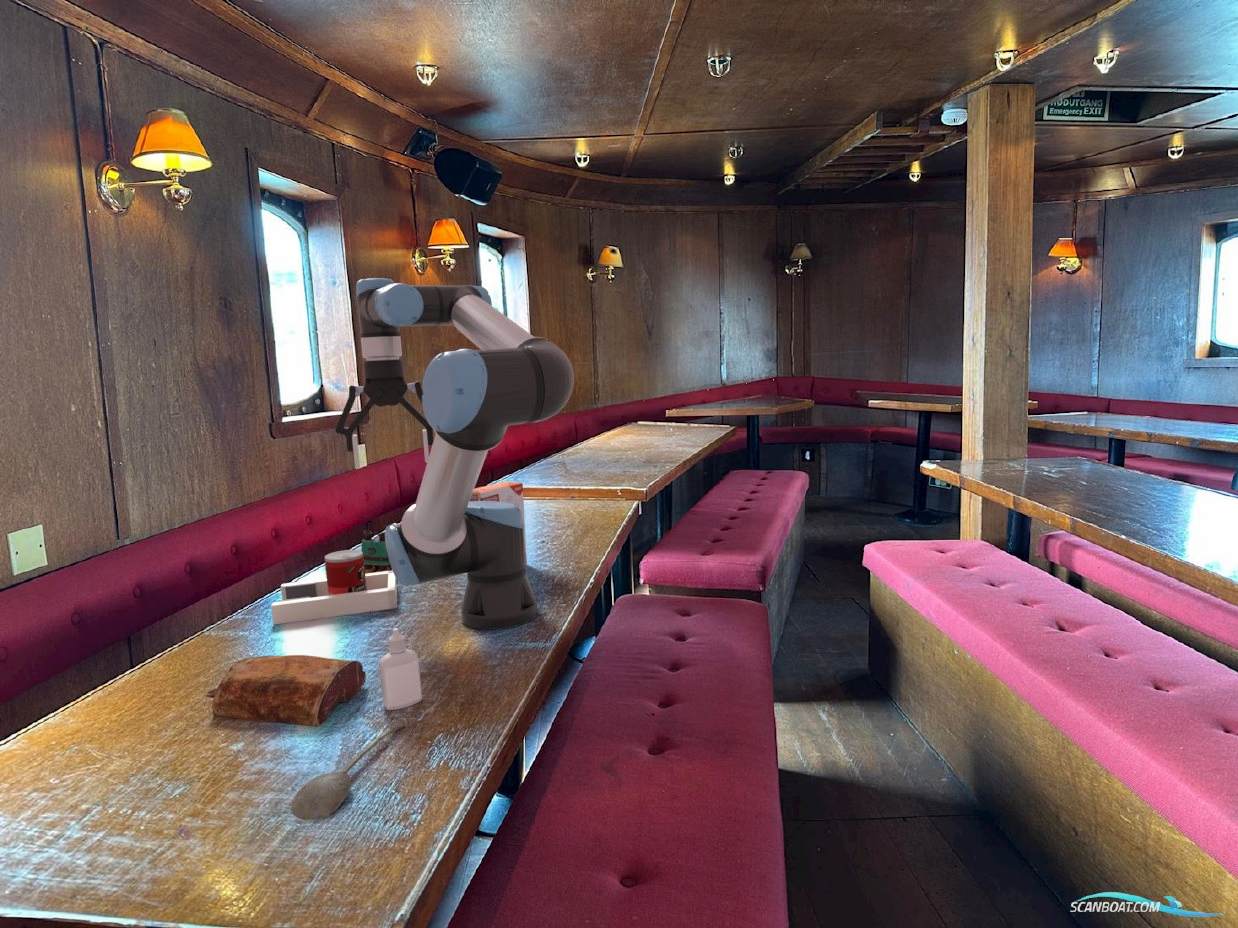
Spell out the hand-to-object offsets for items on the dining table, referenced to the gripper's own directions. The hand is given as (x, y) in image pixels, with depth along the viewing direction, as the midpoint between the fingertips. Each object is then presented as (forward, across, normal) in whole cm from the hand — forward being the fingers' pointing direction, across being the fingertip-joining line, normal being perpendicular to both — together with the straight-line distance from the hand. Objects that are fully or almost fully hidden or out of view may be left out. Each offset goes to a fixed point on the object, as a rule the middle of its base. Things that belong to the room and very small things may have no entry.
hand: (392, 464), depth 151 cm
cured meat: (+31, +20, +33) cm, 50 cm away
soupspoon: (+31, +7, +60) cm, 68 cm away
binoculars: (+31, +5, -32) cm, 45 cm away
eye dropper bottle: (+31, +1, +44) cm, 54 cm away
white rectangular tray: (+31, +14, -9) cm, 35 cm away
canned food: (+31, +12, -9) cm, 34 cm away
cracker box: (+31, -22, -19) cm, 42 cm away
